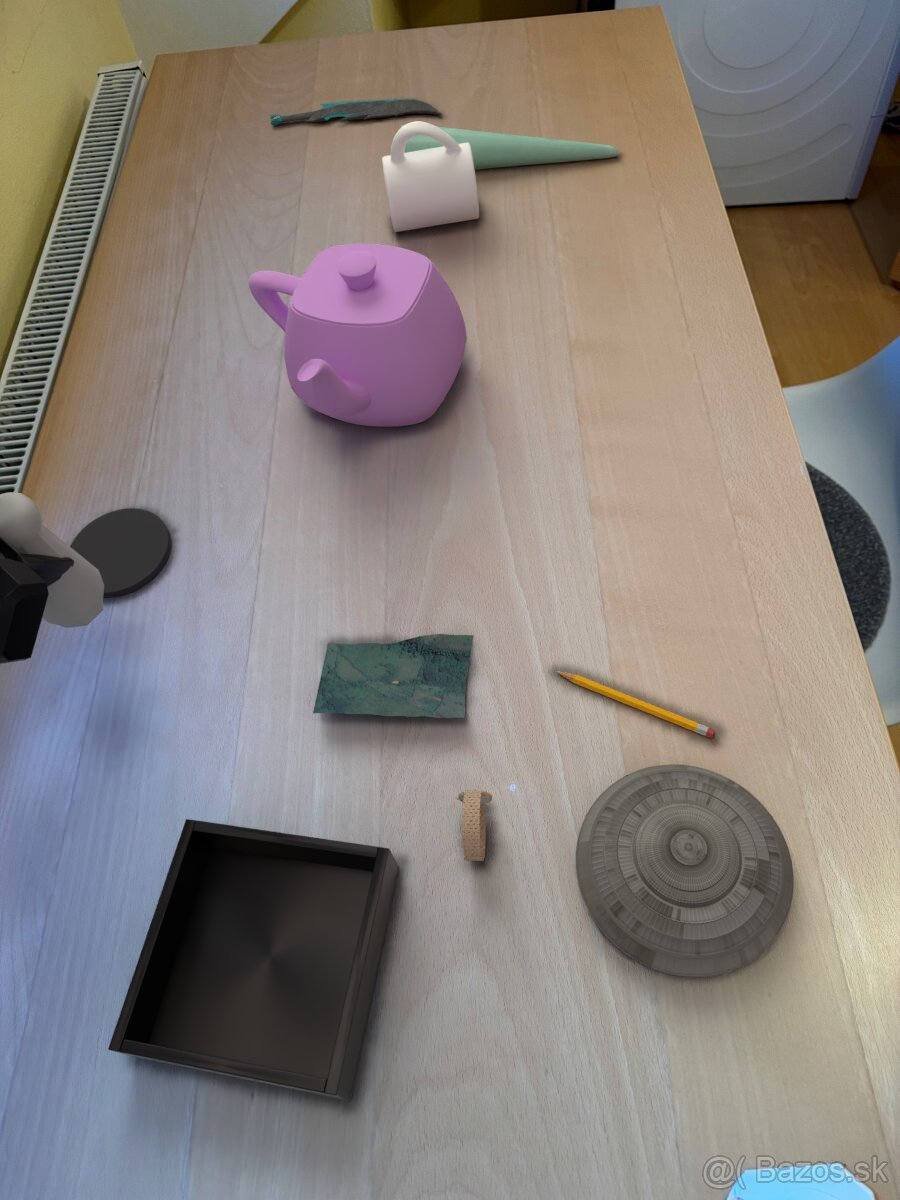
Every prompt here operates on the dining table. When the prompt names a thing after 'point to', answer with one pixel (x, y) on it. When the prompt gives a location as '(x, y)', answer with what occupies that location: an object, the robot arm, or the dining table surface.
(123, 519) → the disc
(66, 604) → the salt shaker
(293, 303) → the teapot
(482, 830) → the perforated watch strap
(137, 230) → the dining table surface
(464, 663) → the terrain model
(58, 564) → the robot arm
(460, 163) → the mug
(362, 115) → the knife
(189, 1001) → the tin
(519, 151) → the long green cone
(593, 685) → the pencil
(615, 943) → the flying saucer
